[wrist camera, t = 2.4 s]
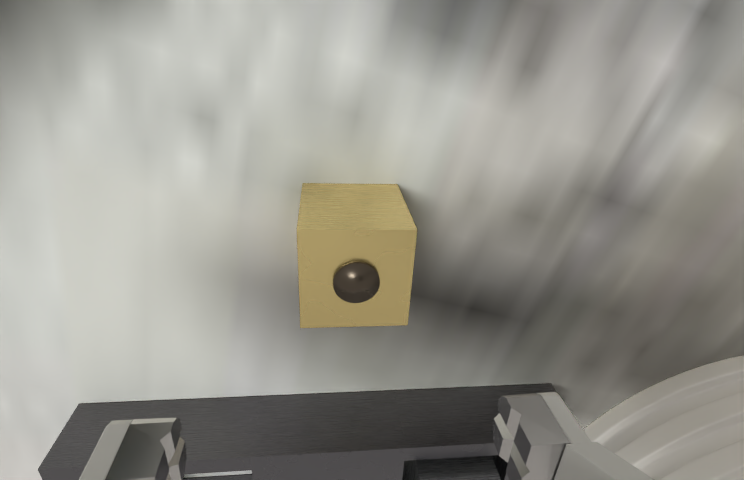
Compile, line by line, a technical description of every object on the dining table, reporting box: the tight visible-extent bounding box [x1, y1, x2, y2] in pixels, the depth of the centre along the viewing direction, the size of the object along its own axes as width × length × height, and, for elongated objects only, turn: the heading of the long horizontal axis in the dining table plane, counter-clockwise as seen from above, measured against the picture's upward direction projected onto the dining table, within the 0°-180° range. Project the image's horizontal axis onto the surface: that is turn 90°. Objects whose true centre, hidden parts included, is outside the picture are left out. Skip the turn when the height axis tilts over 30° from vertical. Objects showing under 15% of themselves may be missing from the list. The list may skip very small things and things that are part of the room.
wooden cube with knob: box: [297, 183, 417, 328], centre depth 19 cm, size 4×4×5 cm
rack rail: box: [38, 384, 556, 480], centre depth 26 cm, size 28×8×4 cm, turn 87°
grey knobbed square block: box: [403, 455, 501, 480], centre depth 27 cm, size 4×4×5 cm
